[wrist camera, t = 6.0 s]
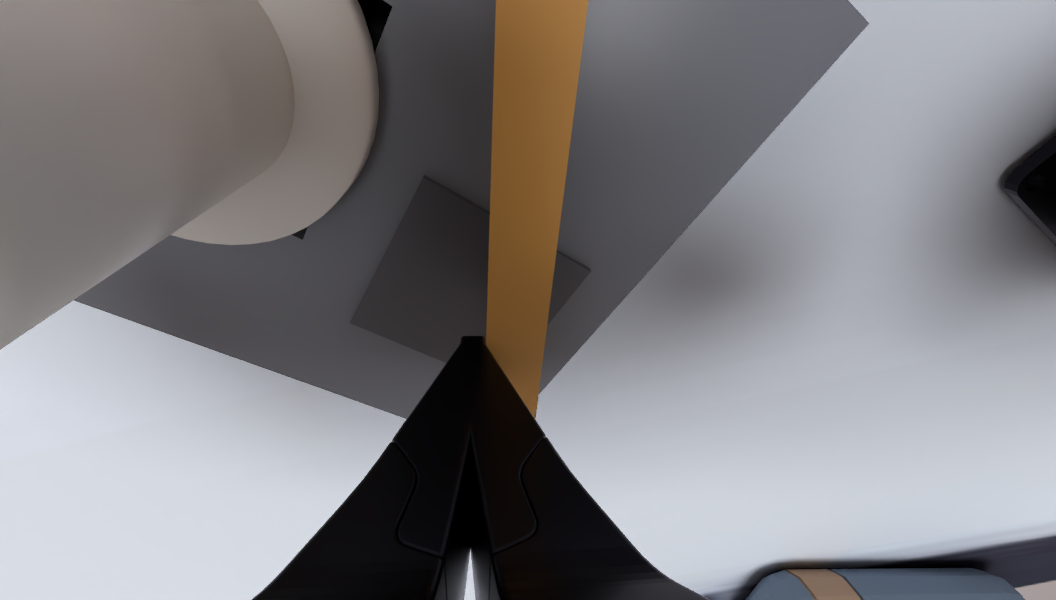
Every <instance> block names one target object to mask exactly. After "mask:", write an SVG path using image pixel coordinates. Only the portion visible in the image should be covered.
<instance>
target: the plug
mask: <svg viewBox="0 0 1056 600" xmlns="http://www.w3.org/2000/svg"><path fill="white" fill-rule="evenodd" d="M378 112H379V83H378V70H377V64H376V59H375V54H374V49H373V44H372V40H371V37H370V33H369V30H368V27H367V24H366V20H365V17H364V14H363V12H362V9H361V7H360V5H359V2H358V0H0V349H2V348H3V347H5V346H6V345H8V344H9V343H11V342H12V341H14V340H15V339H17V338H18V337H19V336H21V335H22V334H24V333H25V332H27V331H28V330H30V329H31V328H33V327H34V326H36V325H37V324H39V323H40V322H42V321H43V320H45V319H46V318H48V317H49V316H51V315H52V314H54V313H55V312H57V311H58V310H60V309H61V308H63V307H64V306H66V305H67V304H68V303H70V302H71V301H73V300H74V299H76V298H77V297H79V296H80V295H82V294H83V293H85V292H86V291H88V290H89V289H91V288H92V287H94V286H95V285H97V284H98V283H100V282H101V281H103V280H104V279H106V278H107V277H109V276H110V275H112V274H113V273H115V272H116V271H117V270H119V269H120V268H122V267H123V266H125V265H126V264H128V263H129V262H131V261H132V260H134V259H135V258H137V257H138V256H140V255H141V254H143V253H144V252H146V251H147V250H149V249H150V248H152V247H153V246H155V245H156V244H158V243H159V242H161V241H162V240H164V239H165V238H166V237H168V236H169V235H172V236H176V237H179V238H183V239H187V240H192V241H198V242H204V243H210V244H224V245H244V244H256V243H262V242H268V241H273V240H276V239H279V238H283V237H286V236H289V235H292V234H294V233H296V232H298V231H300V230H302V229H304V228H306V227H308V226H309V225H311V224H312V223H314V222H315V221H317V220H318V219H320V218H321V217H322V216H323V215H324V214H326V213H327V212H328V211H329V210H330V209H331V208H332V207H333V206H334V205H335V204H336V203H337V202H338V200H339V199H340V198H341V197H342V196H343V195H344V194H345V192H346V191H347V190H348V189H349V188H350V186H351V185H352V184H353V182H354V181H355V180H356V178H357V177H358V176H359V174H360V172H361V170H362V168H363V166H364V164H365V162H366V161H367V159H368V156H369V153H370V150H371V147H372V144H373V141H374V138H375V132H376V127H377V122H378Z"/></svg>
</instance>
